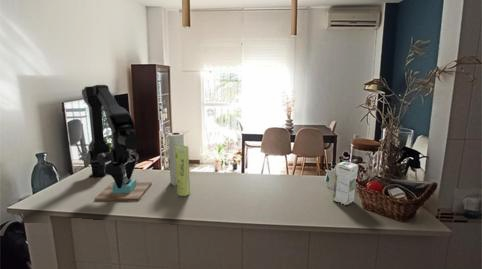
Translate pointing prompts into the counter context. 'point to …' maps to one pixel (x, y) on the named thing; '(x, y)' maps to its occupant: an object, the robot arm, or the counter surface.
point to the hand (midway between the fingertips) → (124, 183)
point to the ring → (125, 187)
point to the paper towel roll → (174, 139)
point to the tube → (182, 170)
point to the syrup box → (345, 182)
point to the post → (125, 180)
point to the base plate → (133, 196)
